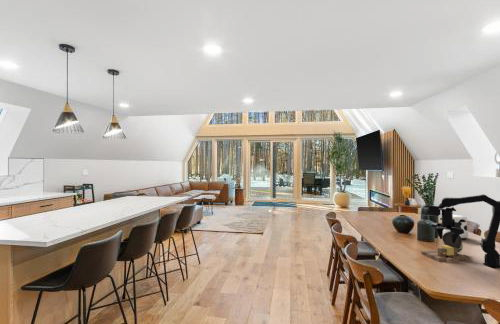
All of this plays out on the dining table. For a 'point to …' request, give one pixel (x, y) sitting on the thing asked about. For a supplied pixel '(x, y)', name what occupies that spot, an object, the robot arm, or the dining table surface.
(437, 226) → the robot arm
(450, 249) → the bight saddle
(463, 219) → the milk container
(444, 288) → the dining table surface
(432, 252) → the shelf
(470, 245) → the dining table surface
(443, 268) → the dining table surface
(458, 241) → the coffee can
